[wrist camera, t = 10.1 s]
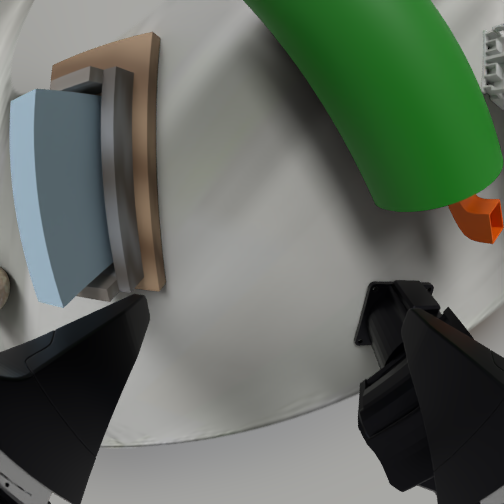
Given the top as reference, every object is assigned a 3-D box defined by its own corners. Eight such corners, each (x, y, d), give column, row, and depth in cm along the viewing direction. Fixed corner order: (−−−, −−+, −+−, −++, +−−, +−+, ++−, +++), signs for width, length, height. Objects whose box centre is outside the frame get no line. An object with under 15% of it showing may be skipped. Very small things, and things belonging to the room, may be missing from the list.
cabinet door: (123, 253, 20) (63, 307, 13) (92, 251, 20) (31, 299, 13) (114, 98, 16) (35, 88, 8) (81, 106, 16) (4, 105, 8)
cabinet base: (165, 282, 23) (139, 320, 17) (77, 272, 23) (44, 300, 18) (160, 37, 15) (126, 13, 10) (63, 67, 15) (21, 60, 10)
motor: (236, 16, 13) (378, 246, 20) (237, -64, 5) (450, 302, 11) (346, -20, 12) (461, 186, 18) (393, -77, 4) (538, 210, 10)
